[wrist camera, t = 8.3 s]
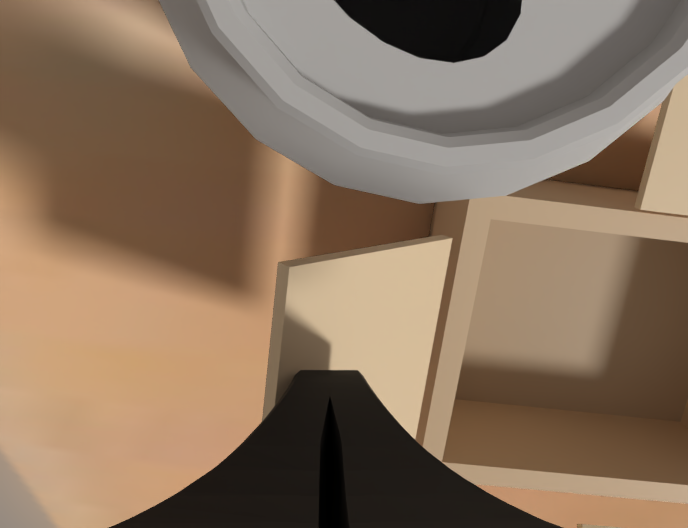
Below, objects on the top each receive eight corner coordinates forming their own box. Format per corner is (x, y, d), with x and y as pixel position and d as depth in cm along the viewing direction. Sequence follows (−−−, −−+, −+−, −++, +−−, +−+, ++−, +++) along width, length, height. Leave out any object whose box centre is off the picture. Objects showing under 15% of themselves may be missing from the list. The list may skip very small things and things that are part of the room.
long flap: (289, 266, 11) (278, 262, 11) (259, 551, 12) (249, 542, 13) (452, 238, 14) (441, 234, 14) (411, 462, 16) (402, 456, 16)
